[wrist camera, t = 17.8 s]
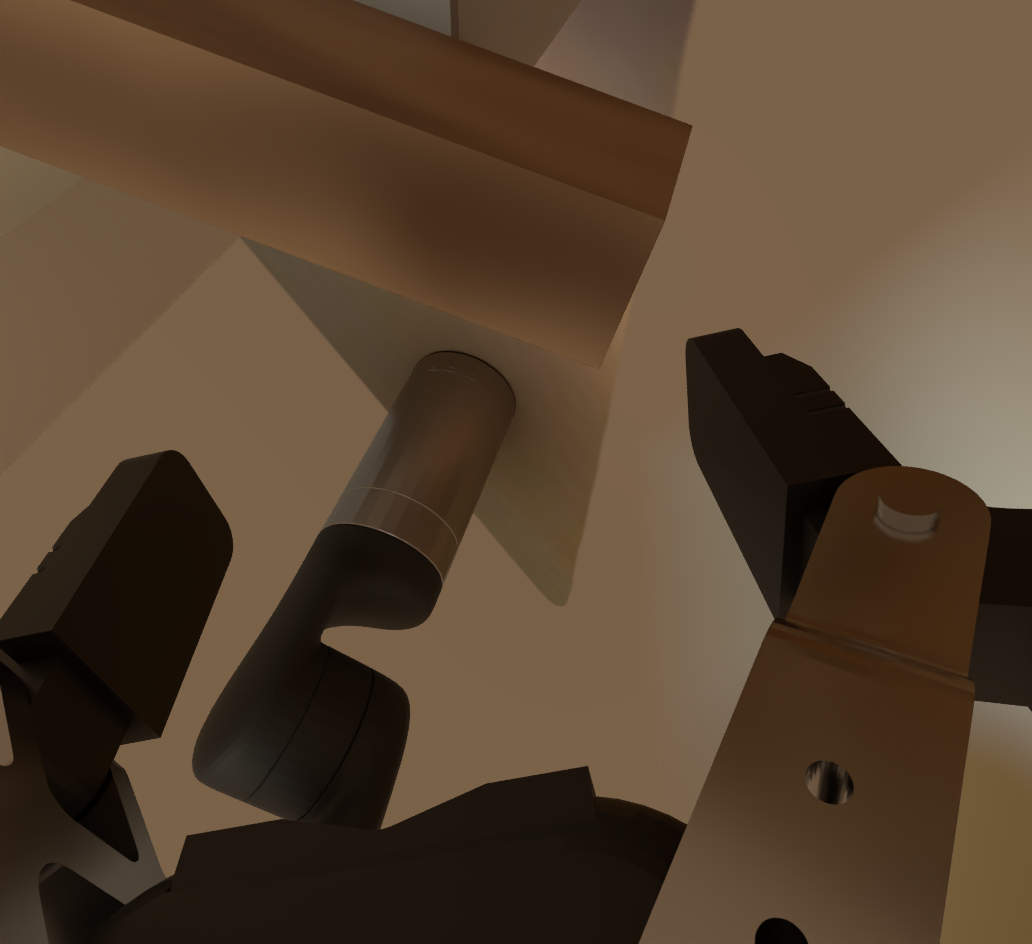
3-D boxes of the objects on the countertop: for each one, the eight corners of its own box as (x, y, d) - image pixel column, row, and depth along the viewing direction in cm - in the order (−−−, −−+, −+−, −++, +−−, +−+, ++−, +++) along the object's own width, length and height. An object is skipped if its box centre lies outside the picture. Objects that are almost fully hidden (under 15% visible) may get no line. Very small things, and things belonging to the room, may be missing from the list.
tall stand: (376, 120, 39) (-60, 573, 20) (170, 81, 41) (-404, 458, 22) (358, -23, 33) (-272, 418, 14) (120, -59, 35) (-708, 284, 16)
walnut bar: (629, 271, 17) (599, 369, 15) (-126, -9, 18) (-273, 44, 15) (692, 125, 14) (665, 220, 12) (-233, -216, 14) (-441, -190, 12)
